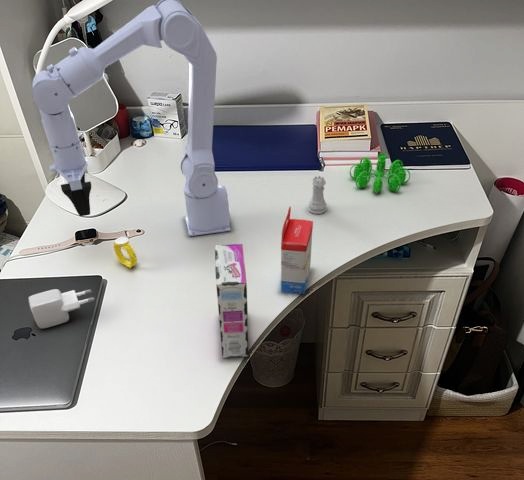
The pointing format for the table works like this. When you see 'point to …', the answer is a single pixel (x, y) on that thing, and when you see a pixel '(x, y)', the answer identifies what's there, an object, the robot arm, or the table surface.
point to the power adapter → (55, 306)
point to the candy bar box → (232, 300)
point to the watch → (125, 244)
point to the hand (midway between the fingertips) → (83, 205)
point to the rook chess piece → (317, 196)
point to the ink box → (295, 254)
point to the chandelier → (379, 174)
